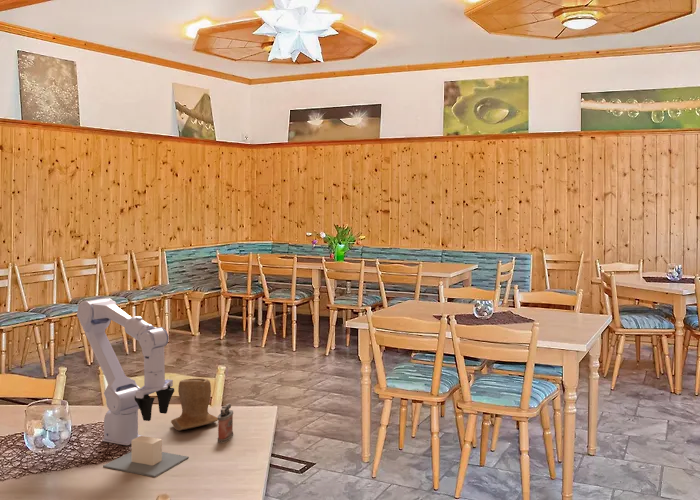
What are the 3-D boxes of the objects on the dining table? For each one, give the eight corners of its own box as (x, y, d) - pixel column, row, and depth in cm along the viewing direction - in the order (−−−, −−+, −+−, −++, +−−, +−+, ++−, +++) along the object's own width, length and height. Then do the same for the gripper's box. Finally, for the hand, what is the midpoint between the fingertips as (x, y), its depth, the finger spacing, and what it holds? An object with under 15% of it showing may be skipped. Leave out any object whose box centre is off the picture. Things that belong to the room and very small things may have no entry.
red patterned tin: (225, 442, 213) (225, 410, 212) (215, 442, 214) (215, 409, 213) (235, 434, 221) (235, 402, 220) (225, 433, 222) (225, 401, 221)
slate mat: (103, 467, 193) (103, 465, 193) (139, 449, 207) (139, 447, 207) (155, 477, 187) (155, 475, 187) (188, 458, 200) (188, 456, 200)
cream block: (152, 465, 193) (152, 443, 193) (131, 461, 196) (131, 440, 196) (161, 460, 197) (161, 439, 197) (140, 456, 200) (140, 435, 199)
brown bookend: (202, 416, 238) (202, 371, 237) (222, 424, 230) (223, 378, 229) (161, 425, 228) (161, 379, 227) (181, 435, 219) (181, 387, 218)
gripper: (149, 377, 198) (150, 425, 199) (181, 366, 211) (181, 411, 212) (129, 374, 200) (130, 422, 201) (161, 364, 214) (161, 408, 215)
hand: (155, 416), depth 207 cm, fingers open, 7 cm apart
